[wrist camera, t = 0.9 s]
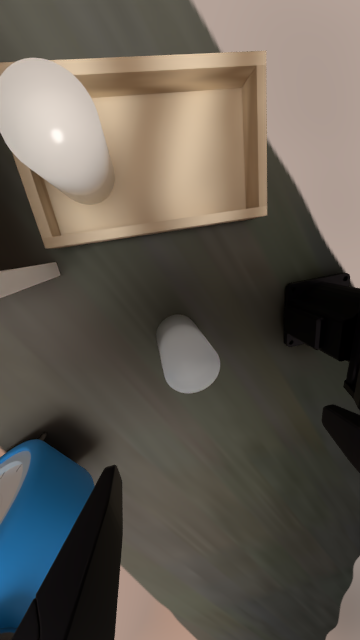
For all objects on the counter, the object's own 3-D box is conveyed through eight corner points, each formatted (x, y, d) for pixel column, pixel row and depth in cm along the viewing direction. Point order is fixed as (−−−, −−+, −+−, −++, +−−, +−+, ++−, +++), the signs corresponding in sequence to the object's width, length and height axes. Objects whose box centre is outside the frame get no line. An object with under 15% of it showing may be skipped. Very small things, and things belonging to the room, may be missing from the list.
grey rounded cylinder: (194, 310, 19) (217, 336, 14) (199, 348, 21) (222, 385, 15) (152, 319, 19) (159, 349, 13) (160, 356, 20) (169, 399, 14)
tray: (245, 81, 15) (266, 50, 12) (249, 219, 18) (266, 215, 15) (9, 97, 13) (-19, 63, 10) (59, 248, 16) (45, 248, 13)
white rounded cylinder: (106, 134, 14) (85, 55, 8) (120, 200, 15) (111, 173, 9) (43, 139, 13) (-26, 60, 8) (63, 208, 14) (18, 183, 9)
